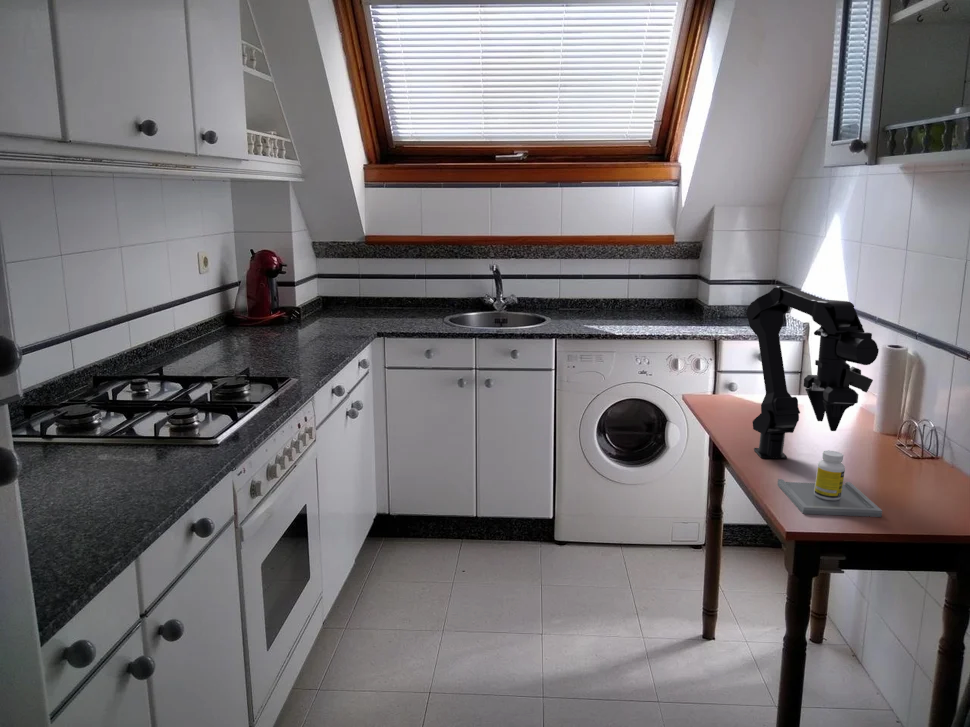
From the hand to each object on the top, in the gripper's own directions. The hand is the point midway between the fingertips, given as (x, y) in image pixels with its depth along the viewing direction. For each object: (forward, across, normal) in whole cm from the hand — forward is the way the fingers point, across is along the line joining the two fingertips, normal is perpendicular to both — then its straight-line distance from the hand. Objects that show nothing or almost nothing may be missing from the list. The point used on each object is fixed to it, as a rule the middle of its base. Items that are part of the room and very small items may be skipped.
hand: (826, 425), depth 180 cm
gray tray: (+14, -11, +2) cm, 18 cm away
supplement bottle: (+13, -11, +2) cm, 17 cm away
